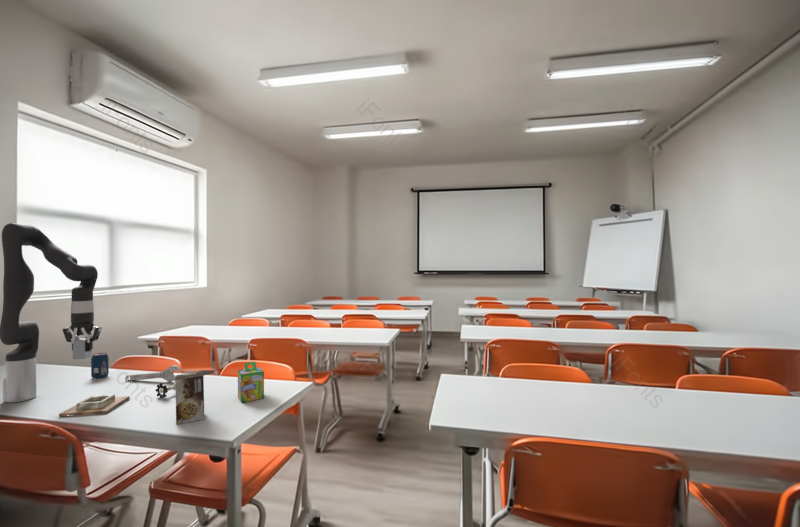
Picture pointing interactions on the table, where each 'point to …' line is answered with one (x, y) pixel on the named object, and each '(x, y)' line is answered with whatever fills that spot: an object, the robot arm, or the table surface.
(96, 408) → the collar base
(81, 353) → the block
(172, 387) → the valve
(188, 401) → the printed cardboard box
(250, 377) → the chalk box
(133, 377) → the wrench
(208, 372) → the phone
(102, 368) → the soda can
